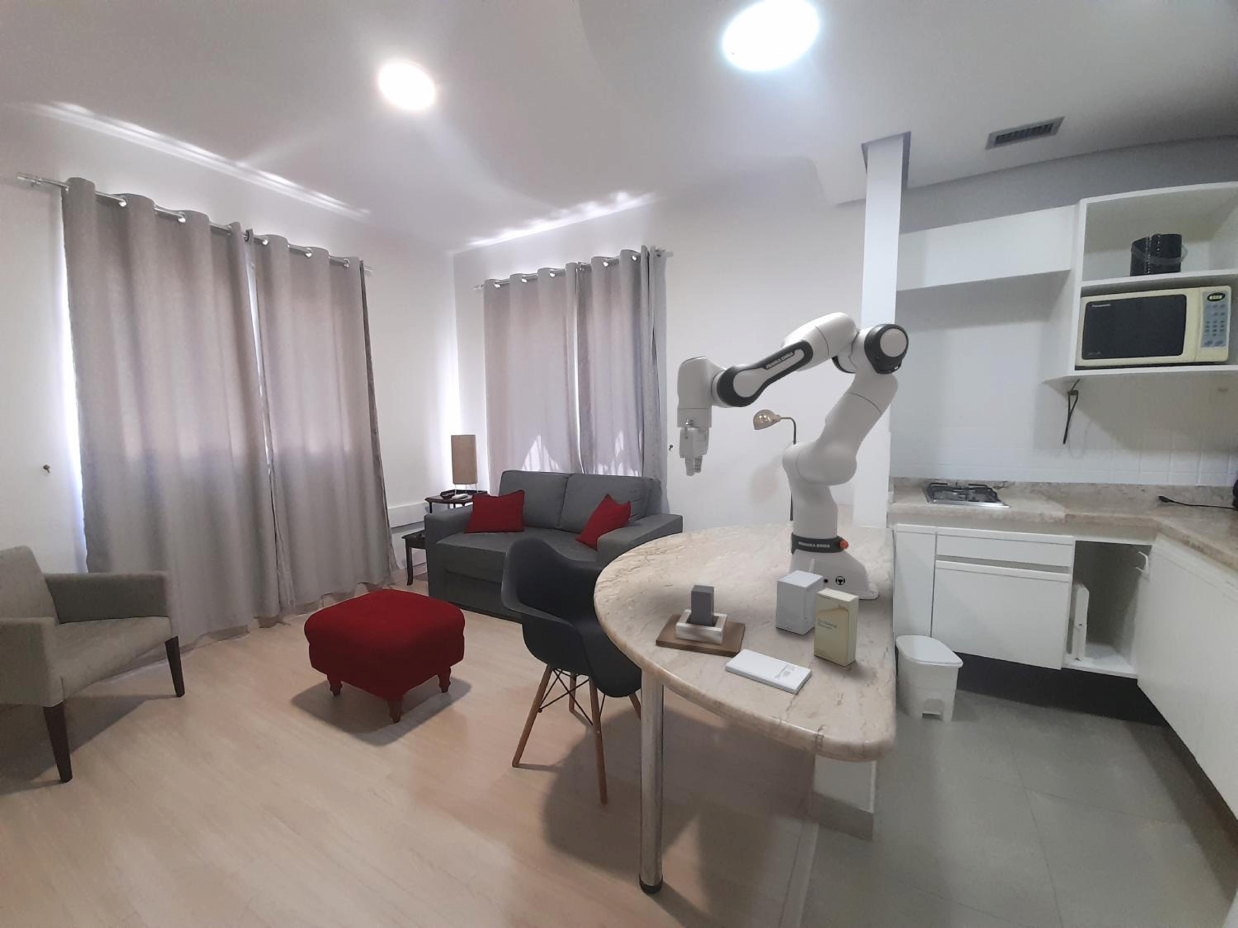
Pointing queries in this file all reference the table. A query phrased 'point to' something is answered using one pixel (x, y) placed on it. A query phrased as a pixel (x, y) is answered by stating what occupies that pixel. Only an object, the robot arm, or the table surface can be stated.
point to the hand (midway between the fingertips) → (694, 474)
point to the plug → (702, 605)
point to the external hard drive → (769, 670)
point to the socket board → (703, 635)
